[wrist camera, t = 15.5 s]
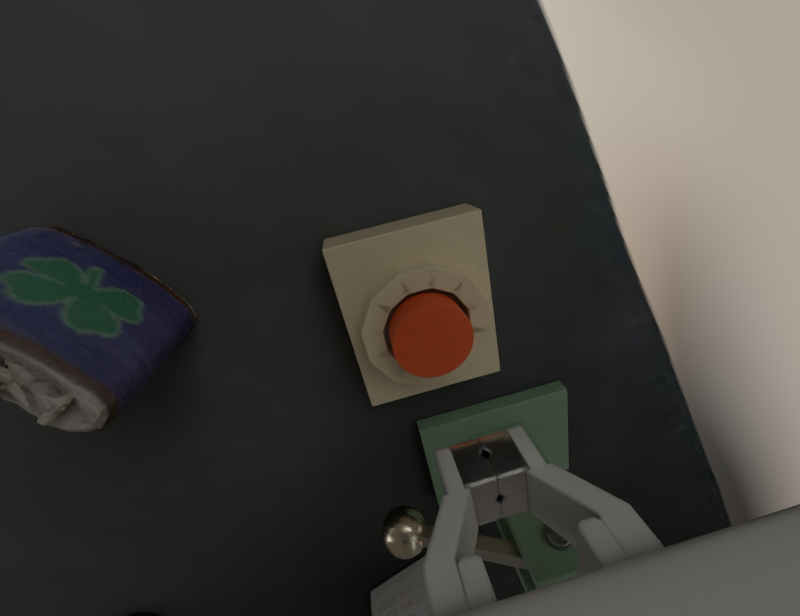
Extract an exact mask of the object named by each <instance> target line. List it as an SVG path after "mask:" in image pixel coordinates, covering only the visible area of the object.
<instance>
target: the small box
mask: <svg viewBox="0 0 800 616" xmlns="http://www.w3.org/2000/svg"><path fill="white" fill-rule="evenodd" d="M425 556H426V555H425ZM425 556H424V557H422V558H421V559H419V560H418V561H416V562H415V563H413V564H411V565H410V566H408V567H407V568H405V569H404V570H402V571H401V572H399V573H398V574H396V575H395V576H393V577H392V578H390V579H389V580H387V581H386V582H384V583H383V584H381V585H380V586H378V587H377V588H375V589H374V590H372V591H371V607H372V616H431V614H430V609H429V604H428V599H427V594H426V588H425V583H424V578H423V573H422V566H423V562H424V559H425Z"/></svg>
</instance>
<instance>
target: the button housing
mask: <svg viewBox="0 0 800 616" xmlns="http://www.w3.org/2000/svg"><path fill="white" fill-rule="evenodd" d="M322 253H323V256H324V259H325V262H326V265H327V268H328V271H329V274H330V278H331V281H332V284H333V287H334V290H335V293H336V296H337V299H338V302H339V305H340V308H341V312H342V315H343V318H344V321H345V324H346V327H347V330H348V333H349V336H350V339H351V342H352V345H353V349H354V352H355V355H356V358H357V361H358V364H359V367H360V370H361V373H362V376H363V379H364V382H365V386H366V389H367V392H368V395H369V398H370V401H371V404H372V406H376V405H380V404H383V403H387V402H390V401H394V400H397V399H401V398H405V397H408V396H412V395H415V394H419V393H422V392H426V391H429V390H433V389H437V388H440V387H444V386H447V385H451V384H454V383H458V382H461V381H465V380H469V379H472V378H476V377H479V376H483V375H486V374H490V373H494V372H497V371H500V364H499V356H498V347H497V339H496V330H495V322H494V314H493V305H492V297H491V288H490V280H489V271H488V263H487V255H486V246H485V238H484V229H483V221H482V212H481V209H479V208H476V207H473V206H471V205H468V204H461V205H457V206H453V207H449V208H445V209H441V210H437V211H433V212H429V213H426V214H422V215H418V216H414V217H410V218H406V219H402V220H398V221H394V222H390V223H386V224H382V225H378V226H375V227H371V228H367V229H363V230H359V231H355V232H351V233H347V234H343V235H339V236H335V237H331V238H328V239H325V240H324V243H323V248H322ZM427 292H435V293H440V294H443V295H446V296H448V297H450V298H451V299H453V300H454V301H455V302H456V303H457V304H458V306H459V307H460V308H461V309H462V311H463V312H464V313H465V315H466V316H467V317H468V318H469V320H470V322H471V324H472V326H473V331H474V342H473V346H472V349H471V352H470V354H469V355H468V357H467V358H466V360H465V361H464V362H463V363H462V364H461V365H460V366H459V367H458V368H456V369H455V370H453V371H452V372H450V373H448V374H445V375H442V376H439V377H432V378H425V377H419V376H415V375H413V374H410V373H409V372H407V371H406V370H404V369H403V368H402V367H401V366H400V365H399V363H398V362H397V360H396V359H395V356H394V353H393V349H392V346H391V342H390V338H389V324H390V320H391V317H392V315H393V313H394V312H395V310H396V309H397V308H398V307H399V306H400V304H401V303H403V302H404V301H405V300H407V299H408V298H410V297H412V296H414V295H417V294H421V293H427Z"/></svg>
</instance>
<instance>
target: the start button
mask: <svg viewBox="0 0 800 616" xmlns="http://www.w3.org/2000/svg"><path fill="white" fill-rule="evenodd" d="M389 338H390V342H391V346H392V349H393V353H394V356H395V359H396V360H397V362H398V363H399V365H400V366H401V367H402V368H403V369H404V370H406V371H407V372H409V373H410V374H413V375H415V376H419V377H425V378H432V377H439V376H442V375H445V374H448V373H450V372H452V371H453V370H455V369H456V368H458V367H459V366H460V365H461V364H462V363H463V362H464V361H465V360H466V358H467V357H468V355H469V354H470V352H471V349H472V346H473V342H474V331H473V326H472V324H471V322H470V320H469V318H468V317H467V316H466V315H465V313H464V312H463V311H462V309H461V308H460V307H459V306H458V304H457V303H456V302H455V301H454V300H453V299H451V298H450V297H448V296H446V295H443V294H440V293H435V292H427V293H421V294H417V295H414V296H412V297H410V298H408V299H407V300H405V301H404V302H403V303H401V304H400V306H399V307H398V308H397V309H396V310H395V312H394V313H393V315H392V317H391V320H390V324H389Z"/></svg>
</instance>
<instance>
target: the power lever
mask: <svg viewBox="0 0 800 616" xmlns="http://www.w3.org/2000/svg"><path fill="white" fill-rule="evenodd" d="M433 529H434V526H432V525H427V524H426V522H425V519H424V518H423V516H422V514H421V513H420V512H419V511H418V510H417V509H415V508H413V507H411V506H406V505H403V506H398V507H396V508H394V509H392V510H391V511H390V512H389V513H388V515H387V516H386V518H385V520H384V522H383V527H382V538H383V542H384V544H385V546H386V548H387V550H388V551H389V552H390V553H391V554H392V555H393V556H395V557H397V558H400V559H410V558H413V557H414V556H416V555H417V554H419V553H420V552H421V550H422V549H423V547H426V548H428V546H429V542H430V539H431V536H432V532H433ZM475 554H476V555H478V556H480V557H481V558H482V560H485V561H490V562H494V563H499V564H503V565H508V566H512V567H517V568H521V569H526V570H528V569H527V566H526V564H525V562H524V560H523V557H522V555H521V553H520V551H519V549H518V546H517V544H516V542H514V541H509V540H504V539H498V538H493V537H488V536H483V535H478V534H477V541H476V547H475ZM536 589H537V588H536Z"/></svg>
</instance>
